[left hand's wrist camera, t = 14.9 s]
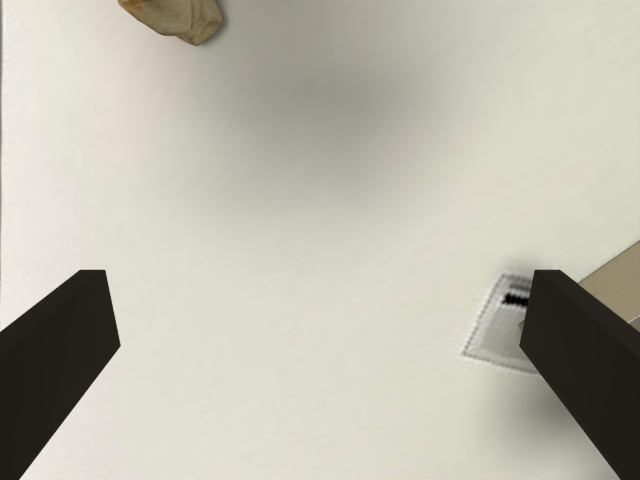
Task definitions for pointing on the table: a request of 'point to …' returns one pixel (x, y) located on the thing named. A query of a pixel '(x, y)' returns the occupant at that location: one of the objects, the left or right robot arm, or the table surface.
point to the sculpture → (177, 17)
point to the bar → (618, 285)
